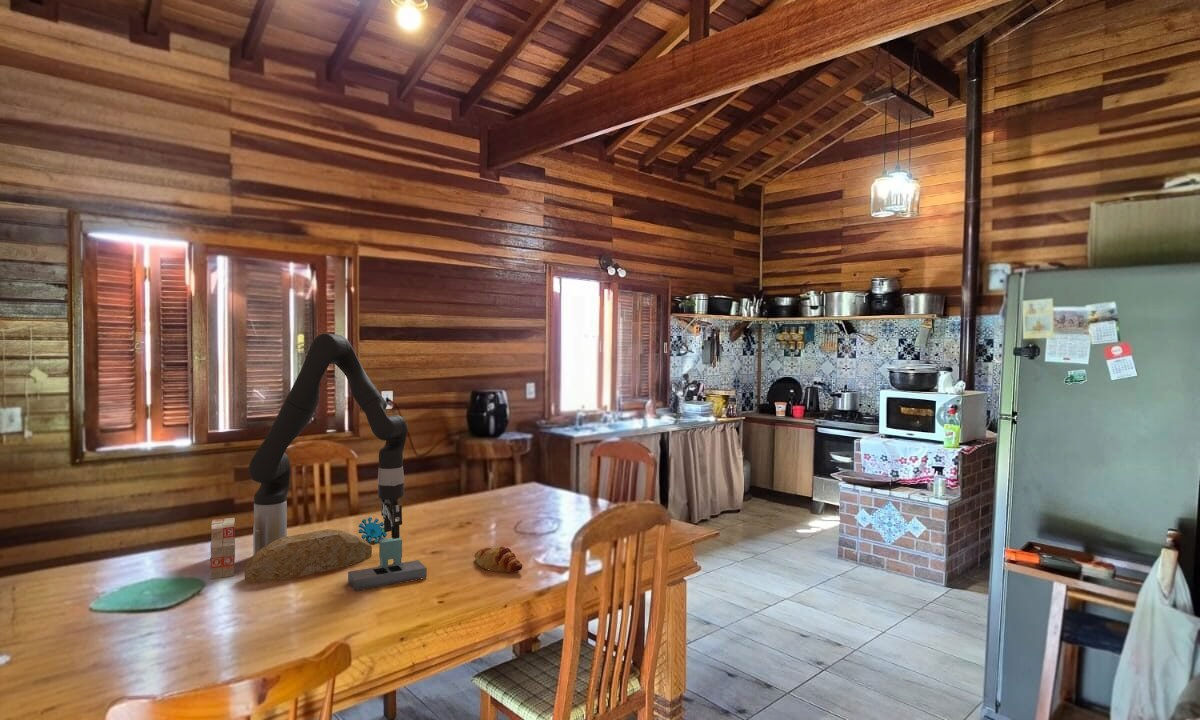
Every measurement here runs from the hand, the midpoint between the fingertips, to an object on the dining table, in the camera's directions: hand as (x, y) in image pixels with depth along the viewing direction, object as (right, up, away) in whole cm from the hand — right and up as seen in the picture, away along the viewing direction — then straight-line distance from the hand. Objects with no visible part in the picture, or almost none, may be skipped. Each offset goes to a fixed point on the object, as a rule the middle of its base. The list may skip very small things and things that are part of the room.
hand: (391, 534), depth 203 cm
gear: (-14, -9, +25) cm, 30 cm away
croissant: (+32, -10, +1) cm, 34 cm away
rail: (+3, -10, -12) cm, 16 cm away
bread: (-23, -10, -2) cm, 25 cm away
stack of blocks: (-50, -9, -2) cm, 51 cm away
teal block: (0, -9, 0) cm, 9 cm away
